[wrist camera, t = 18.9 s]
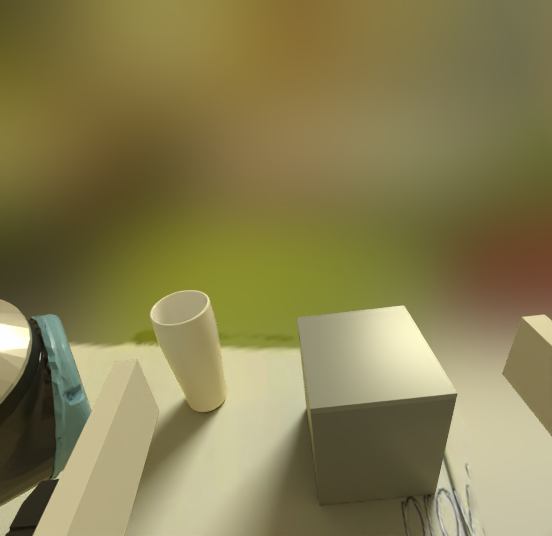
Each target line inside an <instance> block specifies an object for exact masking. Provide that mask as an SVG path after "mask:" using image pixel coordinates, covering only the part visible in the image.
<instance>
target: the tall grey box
mask: <svg viewBox="0 0 552 536" xmlns="http://www.w3.org/2000/svg"><path fill="white" fill-rule="evenodd" d="M297 322H298V331H299V341H300V350H301V360H302V369H303V379H304V388H305V398H306V407H307V415H308V422H309V430H310V437H311V445H312V452H313V460H314V467H315V475H316V482H317V490H318V497H319V504H320V505H329V504H339V503H349V502H359V501H369V500H379V499H389V498H399V497H409V496H419V495H429V494H435V492H436V488H437V483H438V478H439V474H440V469H441V465H442V460H443V456H444V451H445V447H446V442H447V438H448V433H449V429H450V424H451V420H452V415H453V411H454V406H455V402H456V397H457V392H456V390H455V389H454V387H453V386H452V384H451V382H450V380H449V379H448V377H447V376H446V374H445V372H444V370H443V369H442V367H441V365H440V364H439V362H438V360H437V359H436V358H435V356H434V354H433V352H432V351H431V349H430V347H429V346H428V344H427V342H426V341H425V339H424V338H423V336H422V334H421V333H420V331H419V329H418V328H417V326H416V324H415V323H414V321H413V319H412V318H411V316H410V315H409V313H408V311H407V310H406V308H405V306H396V307H387V308H379V309H370V310H361V311H352V312H343V313H335V314H326V315H317V316H308V317H300V318H297Z"/></svg>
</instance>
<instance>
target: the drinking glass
mask: <svg viewBox="0 0 552 536" xmlns="http://www.w3.org/2000/svg"><path fill="white" fill-rule="evenodd" d="M150 319H151V322H152V326H153V329H154V332H155V335H156V338H157V340H158V343H159V345H160V347H161V349H162V352H163V354H164V356H165V357H166V359H167V361H168V363H169V365H170V367H171V369H172V371H173V373H174V375H175V377H176V379H177V381H178V383H179V385H180V387H181V389H182V391H183V393H184V395H185V397H186V400H187V402H188V405H189V406H190V407H191V408H192V409H193V410H195V411H197V412H209V411H212V410H214V409H216V408H217V407H219V406H220V405H221V404H222V403H223V402H224V400H225V398H226V396H227V385H226V381H225V376H224V370H223V363H222V356H221V350H220V343H219V336H218V330H217V324H216V320H215V316H214V313H213V309H212V306H211V303H210V300H209V298H208V296H207V295H206V294H205V293H203V292H200V291H196V290H186V291H179V292H176V293H173V294H170V295H168V296H166V297H164V298H162V299H161V300H160V301H158V302H157V303H156V304H155V305H154V306H153V308H152V309H151V312H150Z"/></svg>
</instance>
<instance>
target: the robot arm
mask: <svg viewBox="0 0 552 536" xmlns="http://www.w3.org/2000/svg"><path fill="white" fill-rule="evenodd" d="M502 374H503V375H504V376H505V378H506V379H507V380H508V382H509V383H510V384H511V385H512V387H513V388H514V389H515V390H516V392H517V393H518V394H519V395H520V396H521V398H522V399H523V400H524V402H525V403H526V404H527V406H528V407H529V408H530V409H531V411H532V412H533V413H534V414H535V416H536V417H537V418H538V419H539V421H540V422H541V423H542V424H543V426H544V427H545V428H546V430H547V431H548V432H549V433H550V435H551V436H552V321H551V320H550V319H549V318H548V317H547V316H546V315H538V316H528V317H522V318H521V321H520V324H519V327H518V330H517V333H516V336H515V339H514V341H513V344H512V347H511V350H510V353H509V356H508V359H507V361H506V364H505V367H504V370H503V373H502ZM158 414H159V409H158V406H157V404H156V402H155V399H154V397H153V395H152V392H151V390H150V388H149V385H148V383H147V381H146V378H145V376H144V374H143V372H142V369H141V367H140V365H139V362H138V360H137V359H136V360H127V361H118V362H115V363H114V365H113V367H112V369H111V371H110V373H109V376H108V378H107V380H106V382H105V384H104V386H103V388H102V390H101V392H100V395H99V397H98V399H97V401H96V403H95V405H94V407H93V409H92V411H91V408H90V405H89V402H88V399H87V396H86V393H85V390H84V387H83V384H82V381H81V378H80V375H79V372H78V369H77V366H76V363H75V360H74V358H73V355H72V352H71V349H70V346H69V343H68V340H67V337H66V334H65V331H64V329H63V326H62V323H61V321H60V319H59V318H58V317H57V316H56V315H51V314H49V315H44V316H35V317H32V318H30V319H29V321H28V320H27V319H26V318H25V317H24V315H23V314H22V313H21V312H20V311H19V310H18V309H17V308H16V307H15V306H13V305H11V304H10V303H8V302H6V301H3V300H1V299H0V506H2V505H4V504H6V503H7V502H9V501H11V500H13V499H14V498H16V497H18V496H20V495H21V494H23V493H25V492H27V491H28V490H30V489H32V488H33V487H35V486H37V485H38V486H37V487H36V488H35V489H34V490H33V492H32V493H31V494H30V495H29V496H28V497H27V499H26V500H25V501H24V502H23V503H22V505H21V507H20V509H19V511H18V513H17V515H16V517H15V519H14V520H13V522H12V524H11V526H10V531H9V532H8V533H7V534H6V535H5V536H125V533H126V529H127V525H128V522H129V518H130V515H131V511H132V507H133V504H134V500H135V497H136V493H137V490H138V486H139V482H140V479H141V475H142V472H143V468H144V464H145V461H146V457H147V454H148V450H149V446H150V443H151V439H152V436H153V432H154V429H155V425H156V421H157V418H158ZM63 470H64V471H63ZM61 471H63V473H62V475H61V477H60V479H55V478H56V477H57V476H58V475H59V473H60V472H61ZM53 479H55V480H53Z"/></svg>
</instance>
